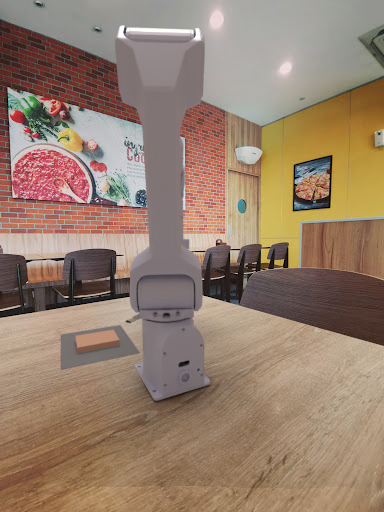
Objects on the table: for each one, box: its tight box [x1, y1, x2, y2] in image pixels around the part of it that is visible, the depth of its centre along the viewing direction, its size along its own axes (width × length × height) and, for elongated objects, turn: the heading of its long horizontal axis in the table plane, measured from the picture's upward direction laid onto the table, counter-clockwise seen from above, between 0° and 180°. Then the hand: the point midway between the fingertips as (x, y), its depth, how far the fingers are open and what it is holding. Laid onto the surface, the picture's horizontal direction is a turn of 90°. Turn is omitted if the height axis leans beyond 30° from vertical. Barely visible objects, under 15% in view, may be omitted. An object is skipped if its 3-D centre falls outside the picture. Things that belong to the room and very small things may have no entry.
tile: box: [75, 330, 120, 354], centre depth 47 cm, size 1×7×6 cm
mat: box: [60, 324, 141, 371], centre depth 48 cm, size 16×12×1 cm
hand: (171, 281), depth 56 cm, fingers closed
